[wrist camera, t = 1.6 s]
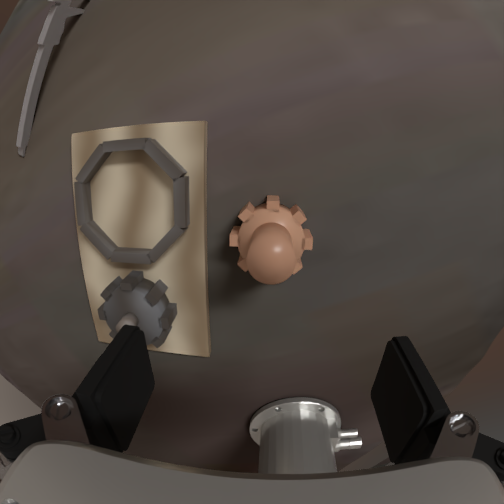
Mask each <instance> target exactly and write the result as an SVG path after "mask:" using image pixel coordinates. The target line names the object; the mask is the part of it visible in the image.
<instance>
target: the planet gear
mask: <svg viewBox="0 0 504 504" xmlns="http://www.w3.org/2000/svg"><path fill="white" fill-rule="evenodd" d="M238 217H239V218H240V219H241V220H242V221H243V222H242V225H241V226H234V227H233V229H232V231H231V233H230V246H236V247H238V249H239V252H240V256H239V260H238V263H237V265H238V266H239V267H240V268H241V269H242V270H244V271H245V272H246V271H247V270H249V272H250V274H251V275H252V276H253V278H255V279H256V280H257V281H259V282H261V283H264V284H278V283H281V282H283V281H285V280H286V279H288V278H289V277H290V276H291V275H292V273H293V274H295V273H296V272H298V271H299V270H300V269H301V268H302V263H301V259H300V257H301V256H302V253H303V251H304V250H312V245H313V237H312V235H311V233H310V231H309V229H302V227H301V224H302V223H303V222H304V221H306V220H307V219H306V217H305V215H304V213H303V211H302V210H301V209H300V208H299V207H298V206H297V205H296V204H295V205H294V206H293V207H292V208H290V209H289V208H288V207H286V206H284V205H282V204H279V196H274V195H267V203H264V204H260V205H258V206H256V207H254V206H253V205H252V204H251V203H250V202H248V203H247V204H246V205H245V206H244V207H243V208H242V209H241V211H240V213H239V215H238Z"/></svg>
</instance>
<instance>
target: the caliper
mask: <svg viewBox="0 0 504 504" xmlns="http://www.w3.org/2000/svg"><path fill="white" fill-rule="evenodd" d="M47 1H50V2H55V3H56V4H55V6H54V5H53V6H51V9H50V11H49V13H48V16H47V18H46V21H45V24H44V26H43V29H42V32H41V35H40V37H39V40H38V43H37V44H39V48H38V51H37V54H36V57H35V61H34V64H33V67H32V71H31V74H30V78H29V82H28V86H27V90H26V94H25V98H24V103H23V108H22V113H21V118H20V123H19V129H18V136H17V143H16V146H18V147H19V148H18V153H19V155H21V156H22V157H24V155H25V149H26V146H27V144H28V141H29V137H30V134H31V129H32V123H33V118H34V113H35V108H36V104H37V100H38V95H39V91H40V88H41V84H42V80H43V77H44V73H45V70H46V67H47V63H48V60H49V57H50V54H51V51H52V48H53V46H54V45H58V44H59V42H60V37H61V35H62V33H63V31H64V25H65V24H64V22H65V20H66V18H67V17H71V16H75V15H78V14H83V12H84V9H81V8H74V7H69V5H70V3H71V1H72V0H47Z"/></svg>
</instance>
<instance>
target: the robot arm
mask: <svg viewBox="0 0 504 504" xmlns="http://www.w3.org/2000/svg"><path fill="white" fill-rule="evenodd" d="M154 384H155V383H154V377H153V372H152V368H151V364H150V359H149V354H148V350H147V345H146V340H145V334H144V332H143V331H142V330H140V328H139V327H138V326H133V325H124V326H123V327H122V328H121V329H120V331H119V332H118V333H117V335H116V336H115V337H114V339H113V340H112V342H111V343H110V344H109V346H108V347H107V348H106V350H105V351H104V353H103V354H102V355H101V356H100V357H99V359H98V360H97V361H96V363H95V364H94V366H93V367H92V368H91V370H90V371H89V373H88V374H87V376H86V377H85V378H84V380H83V381H82V383H81V384H80V386H79V387H78V389H77V390H76V392H75V393H74V394H73V396H72V397H71V396H69V395H66V394H57V395H54V396H51V397H50V398H48V399H47V400H46V401H45V402H44V403H43V405H42V408H41V414H38V415H35V416H31V417H28V418H24V419H21V420H17V421H13V422H10V423H6V424H4V425H2V426H0V504H504V443H503V442H500V441H498V440H495V439H493V438H491V437H488V436H486V435H483V434H481V433H479V424H478V421H477V420H476V418H475V417H474V416H472V415H471V414H469V413H467V412H463V411H455V412H453V413H451V412H450V410H449V408H448V406H447V404H446V403H445V400H444V399H443V397H442V395H441V393H440V391H439V389H438V388H437V386H436V384H435V382H434V380H433V379H432V377H431V375H430V373H429V372H428V370H427V368H426V366H425V365H424V363H423V361H422V359H421V358H420V356H419V354H418V353H417V351H416V349H415V348H414V346H413V344H412V343H411V341H410V339H409V338H408V337H407V336H401V337H393V338H392V340H391V341H388V343H387V345H386V349H385V352H384V355H383V358H382V361H381V364H380V367H379V370H378V373H377V376H376V379H375V382H374V384H373V387H372V390H371V399H372V402H373V405H374V408H375V411H376V414H377V418H378V421H379V424H380V427H381V431H382V434H383V437H384V441H385V444H386V448H387V451H388V455H389V458H390V461H391V462H392V463H393V462H394V463H395V465H390V466H384V467H377V468H369V469H362V470H353V471H344V472H337V469H336V462H335V455H334V452H339V450H340V449H356V448H360V447H361V444H362V440H361V436H357V435H358V430H357V428H352V429H344V430H341V429H340V428H341V419H340V415H339V412H338V411H337V410H336V408H335V407H333V406H332V405H331V404H329V403H327V402H325V401H322V400H319V399H315V398H307V397H295V398H286V399H282V400H278V401H275V402H272V403H269V404H267V405H265V406H264V407H262V408H261V409H259V410H258V411H257V412H256V413H255V414H254V415H253V416H252V418H251V421H250V427H249V432H250V435H251V437H252V439H253V440H254V441H255V442H256V443H257V444H258V445H260V450H259V467H258V473H242V472H230V471H219V470H210V469H202V468H195V467H189V466H182V465H176V464H171V463H166V462H161V461H156V460H151V459H146V458H142V457H137V456H133V455H129V454H125V453H122V452H123V450H124V451H126V450H127V449H128V447H129V445H130V442H131V440H132V438H133V435H134V433H135V431H136V428H137V426H138V423H139V421H140V419H141V417H142V414H143V412H144V410H145V407H146V405H147V403H148V400H149V398H150V396H151V394H152V391H153V389H154Z"/></svg>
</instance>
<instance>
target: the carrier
mask: <svg viewBox="0 0 504 504" xmlns="http://www.w3.org/2000/svg"><path fill="white" fill-rule="evenodd" d="M207 123H208V122H206V121H187V122H169V123H155V124H143V125H133V126H124V127H115V128H107V129H100V130H93V131H87V132H81V133H75V134H72V176H73V193H74V205H75V215H76V225H77V233H78V241H79V248H80V254H81V261H82V267H83V272H84V278H85V283H86V288H87V293H88V298H89V302H90V307H91V311H92V316H93V320H94V324H95V328H96V332H97V335H98V339H99V341H101V342H107V343H111V342H112V340H113V339H114V337H115V336H116V335H117V333H118V332H119V331H120V329H121V328H122V327H123V326H124V325H133V326H138V327H139V328H140V330H142V331H143V332H144V334H145V340H146V345H147V349H148V350H154V351H162V352H169V353H177V354H185V355H194V356H204V357H209V356H210V352H211V341H210V321H209V297H208V265H207Z"/></svg>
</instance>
